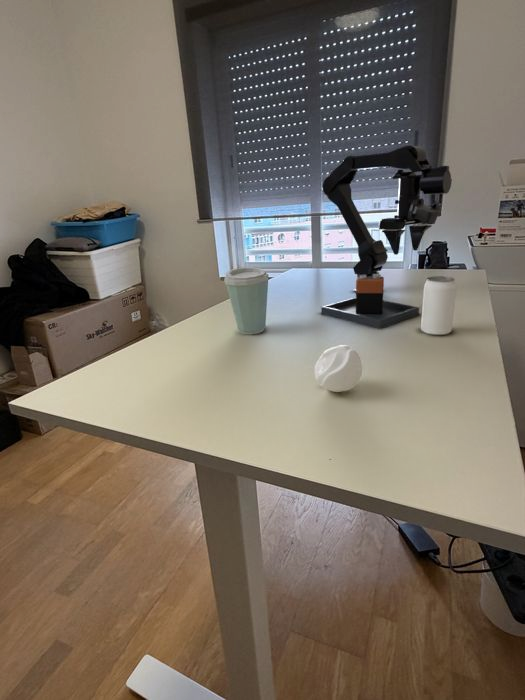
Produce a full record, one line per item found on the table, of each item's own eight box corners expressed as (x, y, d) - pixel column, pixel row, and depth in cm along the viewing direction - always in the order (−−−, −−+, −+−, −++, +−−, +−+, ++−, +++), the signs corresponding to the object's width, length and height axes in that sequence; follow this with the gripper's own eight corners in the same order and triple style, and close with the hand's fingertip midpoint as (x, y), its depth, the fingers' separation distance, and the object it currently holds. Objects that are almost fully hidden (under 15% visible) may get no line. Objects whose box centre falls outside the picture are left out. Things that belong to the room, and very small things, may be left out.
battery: (382, 314, 105) (384, 276, 101) (355, 314, 107) (356, 276, 103) (382, 310, 109) (384, 272, 105) (356, 309, 111) (357, 273, 107)
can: (455, 329, 92) (461, 277, 88) (445, 337, 88) (450, 282, 84) (427, 325, 96) (431, 274, 92) (415, 332, 92) (419, 280, 88)
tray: (321, 313, 111) (321, 306, 110) (359, 302, 120) (359, 295, 119) (379, 328, 96) (380, 320, 95) (418, 314, 105) (419, 307, 104)
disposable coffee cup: (280, 331, 99) (277, 269, 94) (241, 341, 94) (236, 276, 89) (258, 321, 108) (254, 265, 102) (222, 330, 103) (215, 271, 97)
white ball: (311, 381, 72) (310, 340, 69) (353, 377, 72) (354, 336, 69) (320, 402, 64) (320, 357, 62) (367, 398, 65) (369, 353, 62)
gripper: (414, 196, 102) (410, 259, 108) (455, 192, 112) (449, 250, 118) (378, 197, 111) (376, 255, 116) (419, 194, 121) (415, 247, 126)
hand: (405, 252), depth 119 cm, fingers open, 9 cm apart
